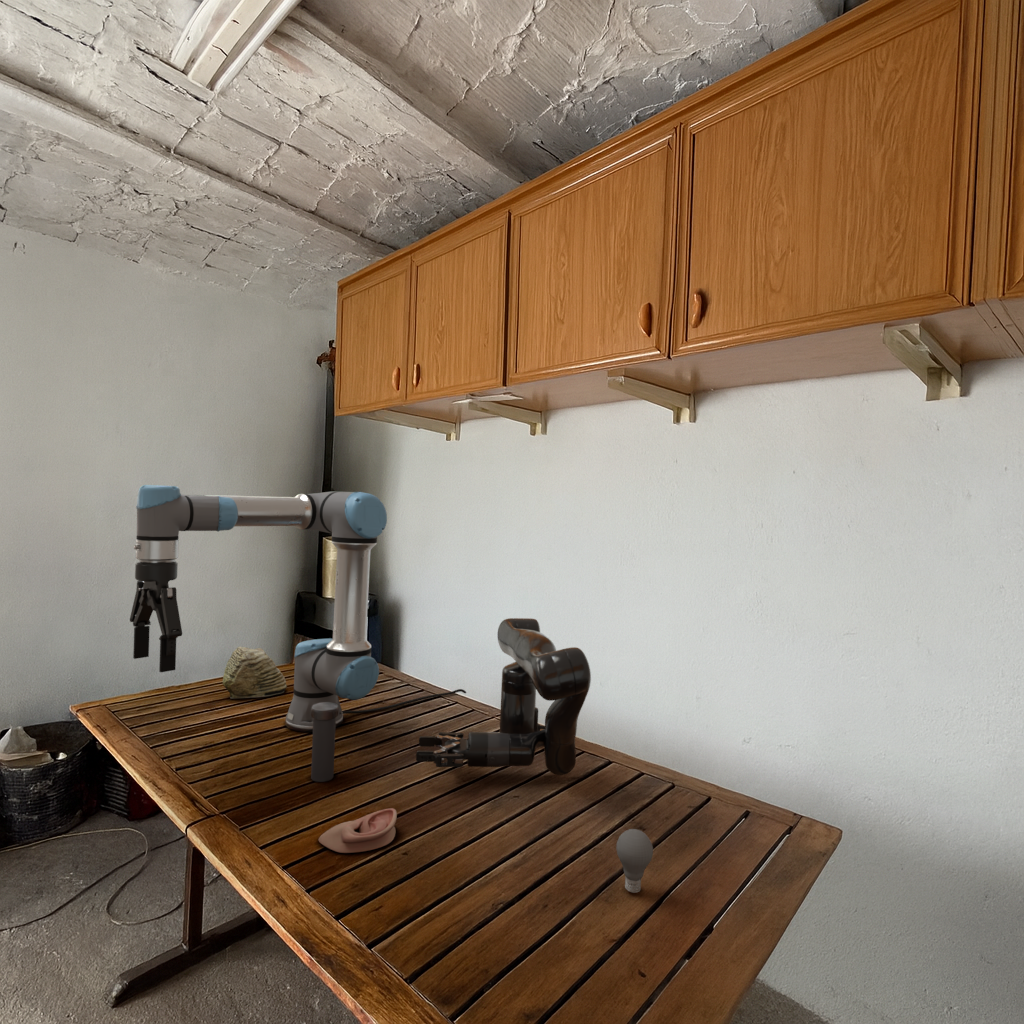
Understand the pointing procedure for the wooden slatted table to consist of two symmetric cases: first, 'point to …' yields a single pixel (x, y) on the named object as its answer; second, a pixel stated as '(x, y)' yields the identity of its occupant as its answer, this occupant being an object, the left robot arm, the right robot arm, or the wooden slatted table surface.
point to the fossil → (252, 674)
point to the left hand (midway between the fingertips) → (153, 664)
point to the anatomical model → (362, 833)
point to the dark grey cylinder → (323, 750)
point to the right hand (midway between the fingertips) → (417, 748)
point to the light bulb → (634, 857)
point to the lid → (324, 711)
